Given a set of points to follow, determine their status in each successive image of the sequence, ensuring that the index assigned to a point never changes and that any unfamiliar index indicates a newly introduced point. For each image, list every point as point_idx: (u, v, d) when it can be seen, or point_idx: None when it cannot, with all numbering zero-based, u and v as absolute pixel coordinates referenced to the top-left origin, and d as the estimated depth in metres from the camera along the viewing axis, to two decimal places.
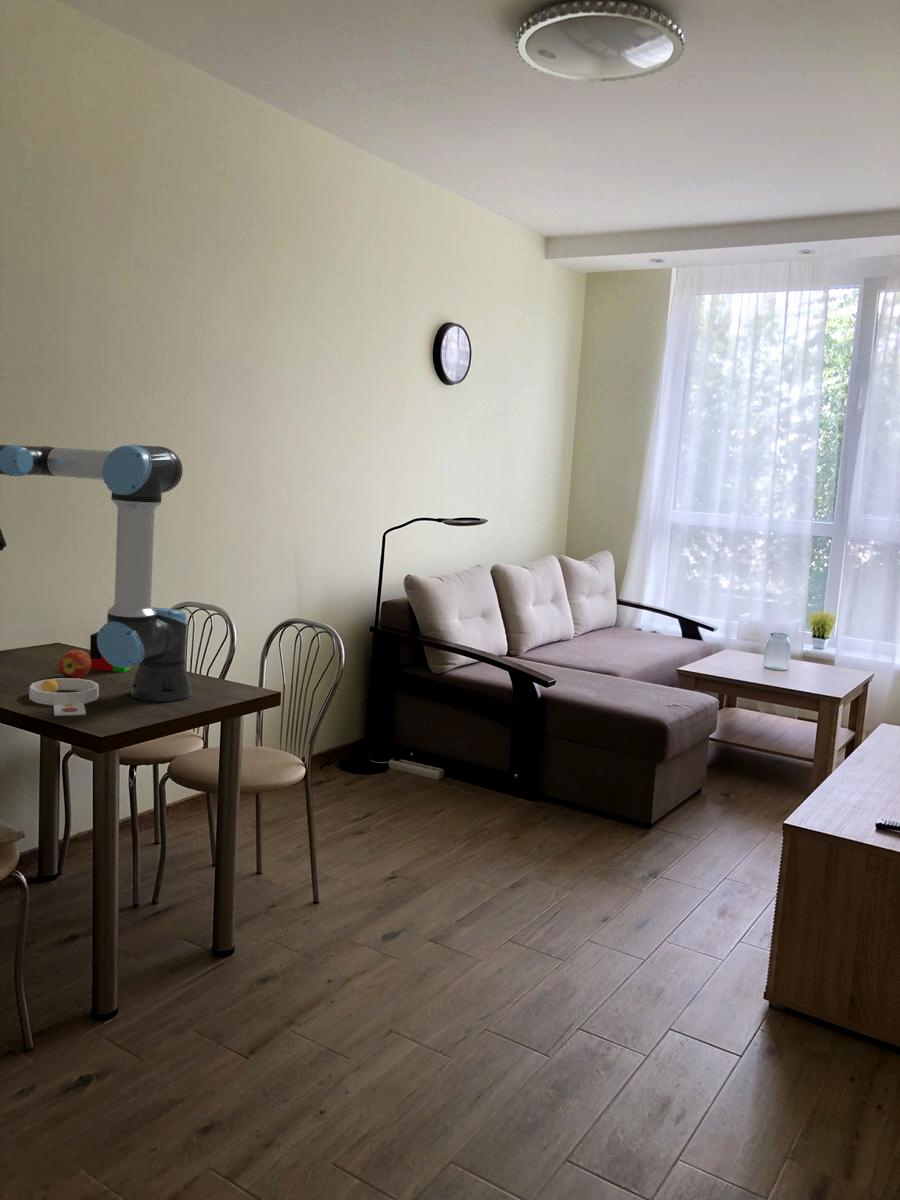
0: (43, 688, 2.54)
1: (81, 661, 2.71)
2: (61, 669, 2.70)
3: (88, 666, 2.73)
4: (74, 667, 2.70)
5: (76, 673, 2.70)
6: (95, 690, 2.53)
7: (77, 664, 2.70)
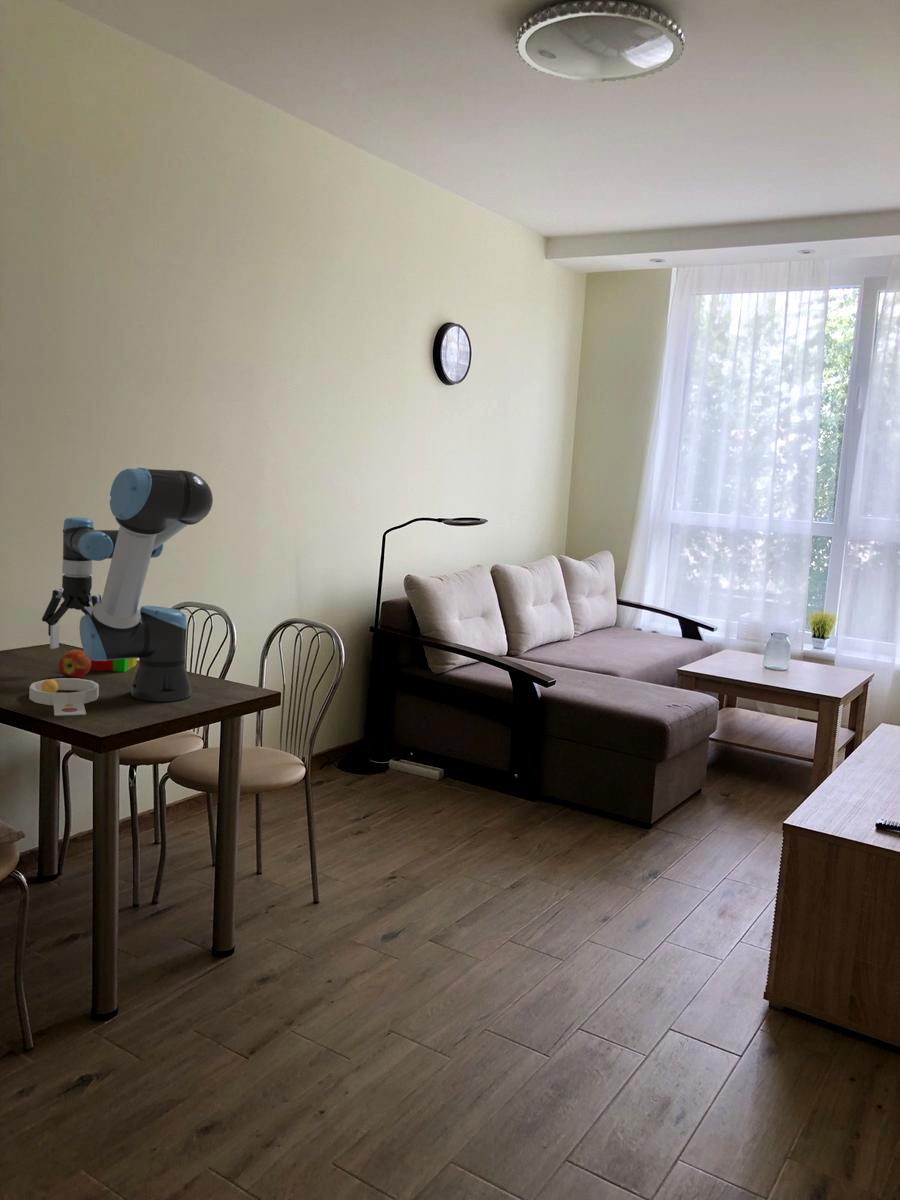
0: (43, 688, 2.54)
1: (81, 661, 2.71)
2: (61, 669, 2.70)
3: (88, 666, 2.73)
4: (74, 667, 2.70)
5: (76, 673, 2.70)
6: (95, 690, 2.53)
7: (77, 664, 2.70)
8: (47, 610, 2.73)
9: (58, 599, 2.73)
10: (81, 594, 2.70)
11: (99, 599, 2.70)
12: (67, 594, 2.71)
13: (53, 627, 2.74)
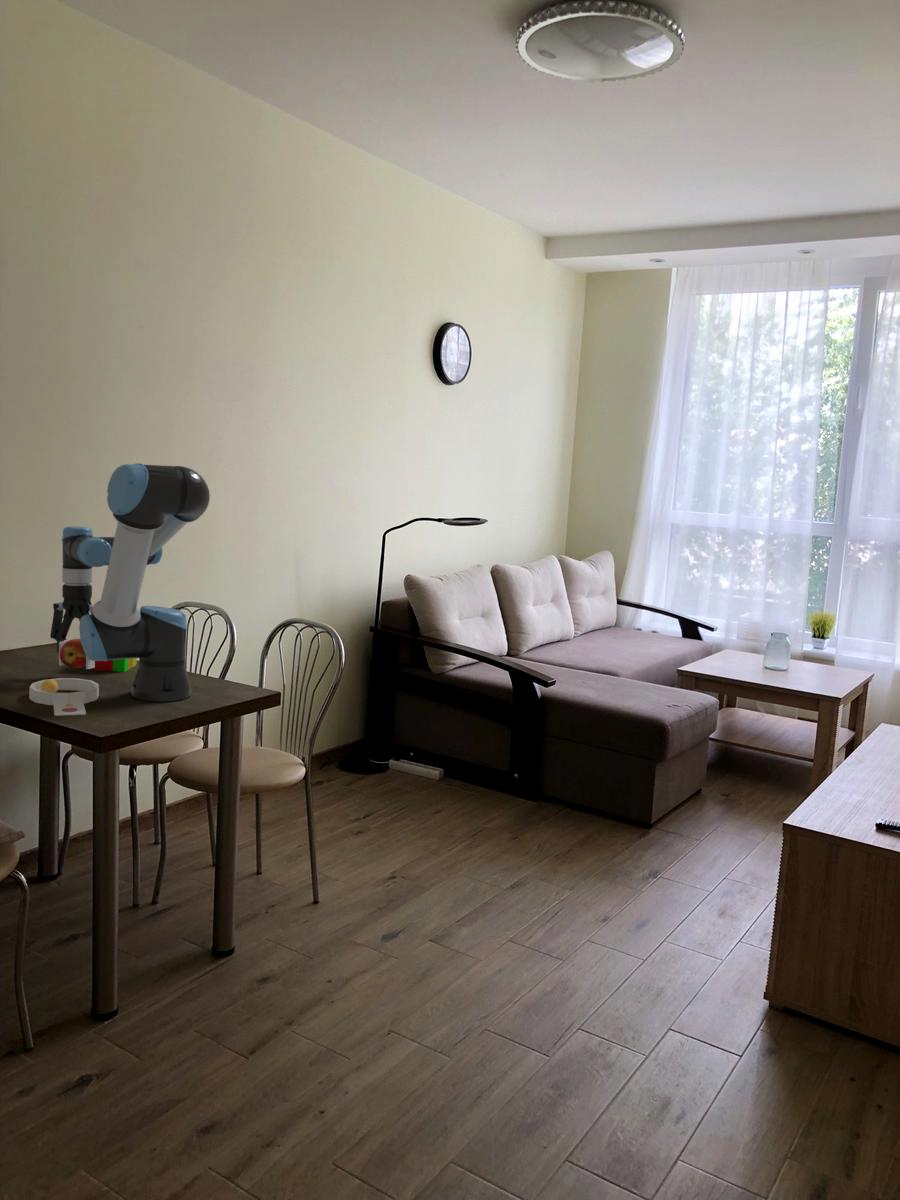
0: (43, 688, 2.54)
1: (82, 649, 2.70)
2: (62, 658, 2.69)
3: None
4: (75, 656, 2.69)
5: (77, 661, 2.69)
6: (95, 690, 2.53)
7: (78, 652, 2.69)
8: (53, 626, 2.73)
9: (60, 612, 2.73)
10: (82, 602, 2.69)
11: None
12: (67, 602, 2.71)
13: (61, 644, 2.73)
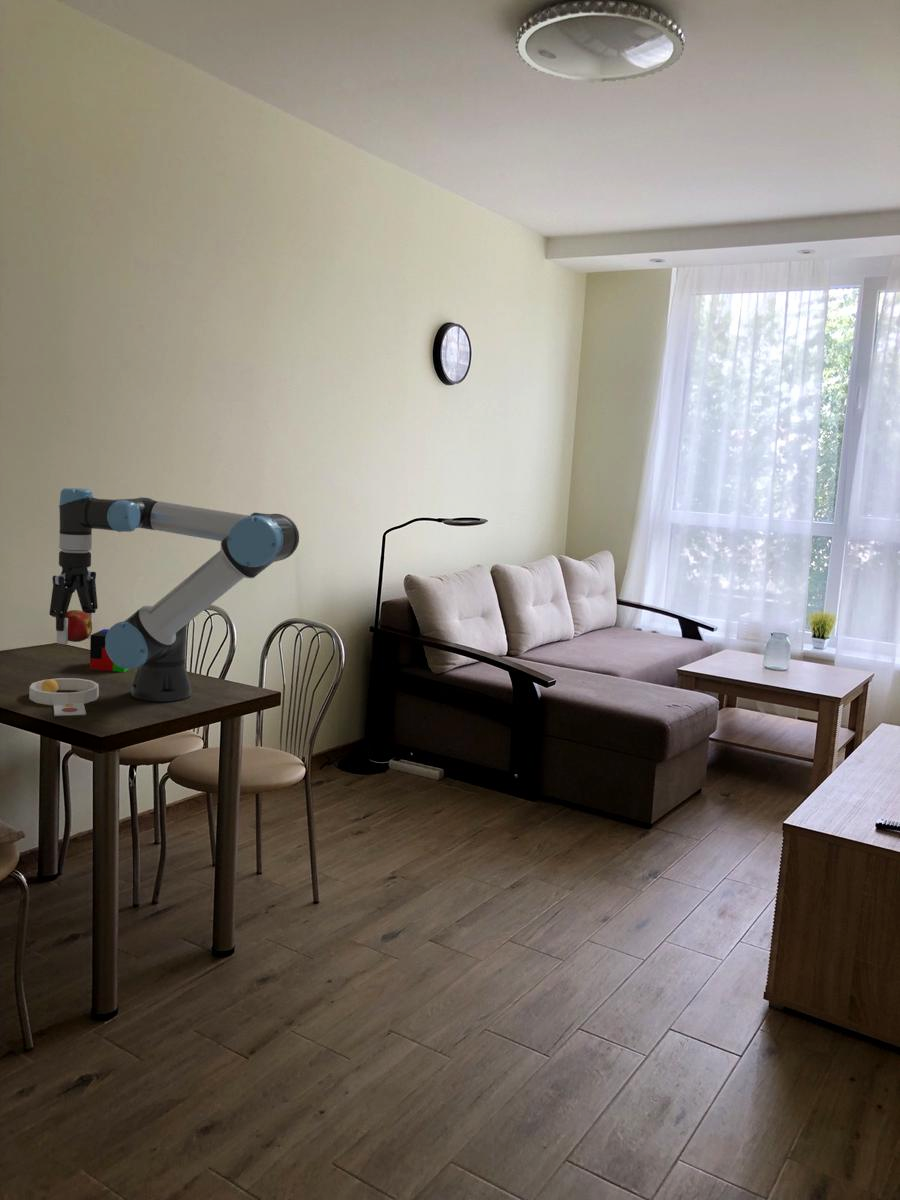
0: (43, 688, 2.54)
1: None
2: (85, 632, 2.49)
3: None
4: (91, 626, 2.52)
5: None
6: (95, 690, 2.53)
7: (91, 622, 2.53)
8: (60, 602, 2.43)
9: None
10: (85, 569, 2.51)
11: None
12: (72, 573, 2.47)
13: None
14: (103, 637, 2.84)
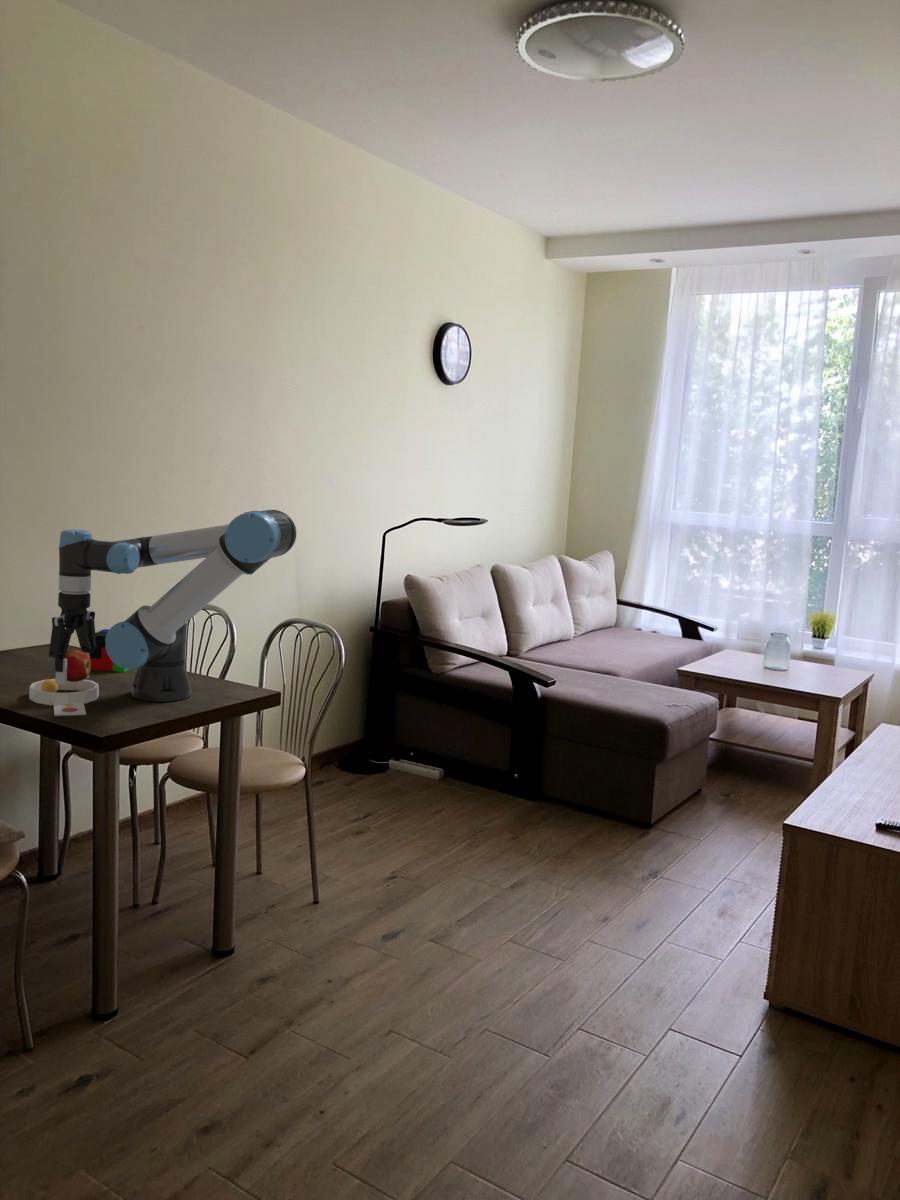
0: (43, 688, 2.54)
1: None
2: (84, 672, 2.50)
3: None
4: (90, 666, 2.54)
5: (89, 671, 2.54)
6: (95, 690, 2.53)
7: (90, 662, 2.54)
8: (59, 643, 2.45)
9: None
10: (84, 609, 2.53)
11: None
12: (71, 614, 2.48)
13: None
14: (103, 637, 2.84)
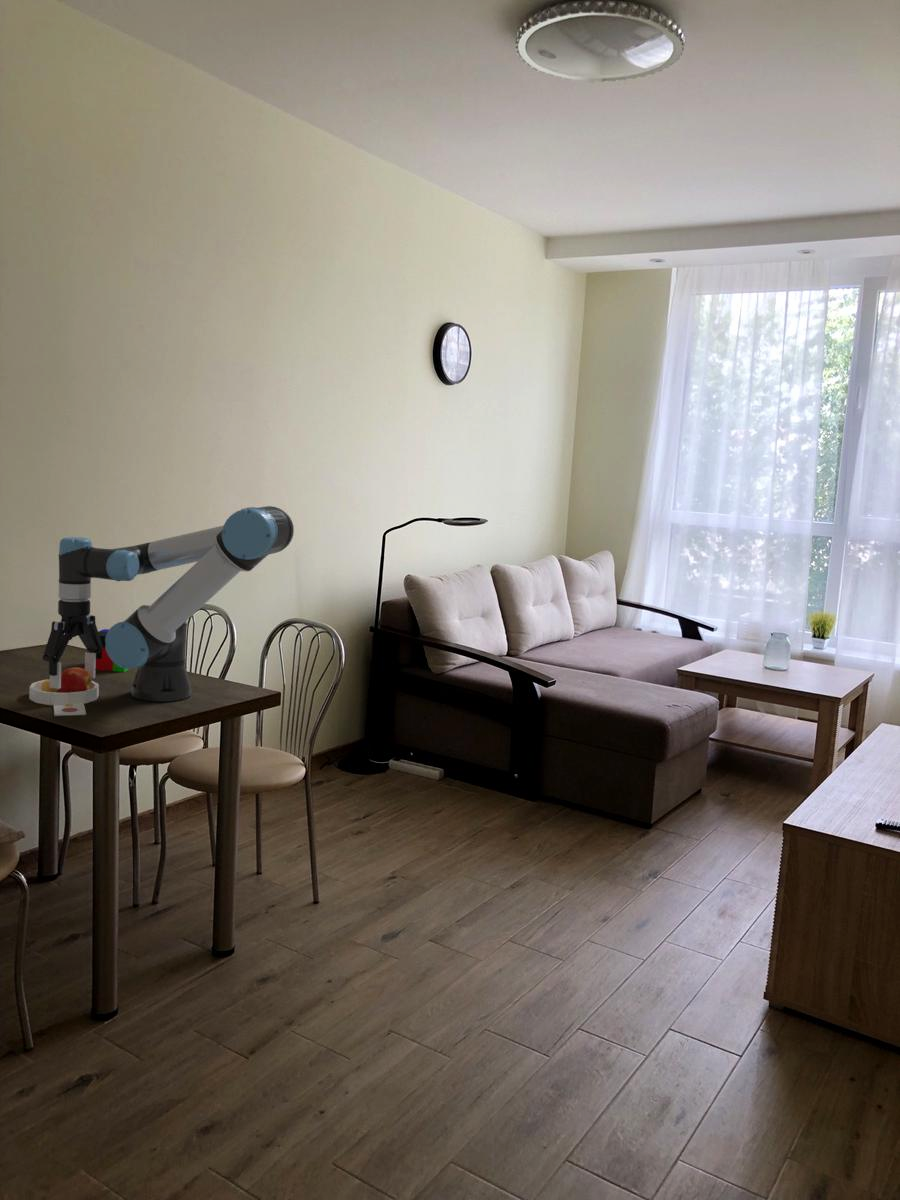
0: (43, 688, 2.54)
1: None
2: (85, 689, 2.51)
3: None
4: (90, 683, 2.55)
5: None
6: (95, 690, 2.53)
7: None
8: (55, 647, 2.43)
9: None
10: (83, 618, 2.53)
11: None
12: (72, 622, 2.49)
13: None
14: (103, 637, 2.84)
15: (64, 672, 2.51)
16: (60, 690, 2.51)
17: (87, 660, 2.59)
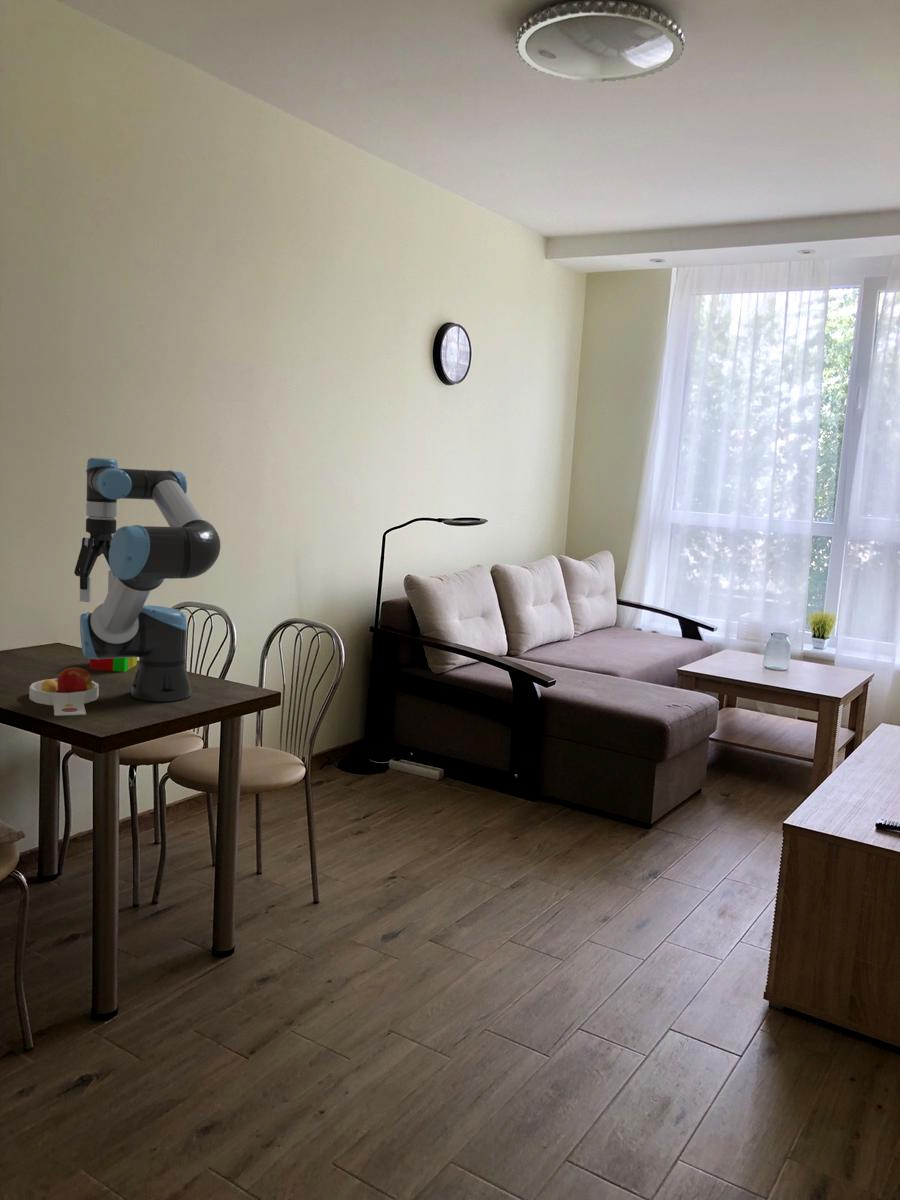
0: (43, 688, 2.54)
1: None
2: (85, 689, 2.51)
3: None
4: (90, 683, 2.55)
5: None
6: (95, 690, 2.53)
7: (91, 679, 2.55)
8: (86, 562, 2.54)
9: None
10: (109, 536, 2.63)
11: None
12: (100, 539, 2.59)
13: None
14: None
15: (64, 672, 2.51)
16: (60, 690, 2.51)
17: (111, 579, 2.70)
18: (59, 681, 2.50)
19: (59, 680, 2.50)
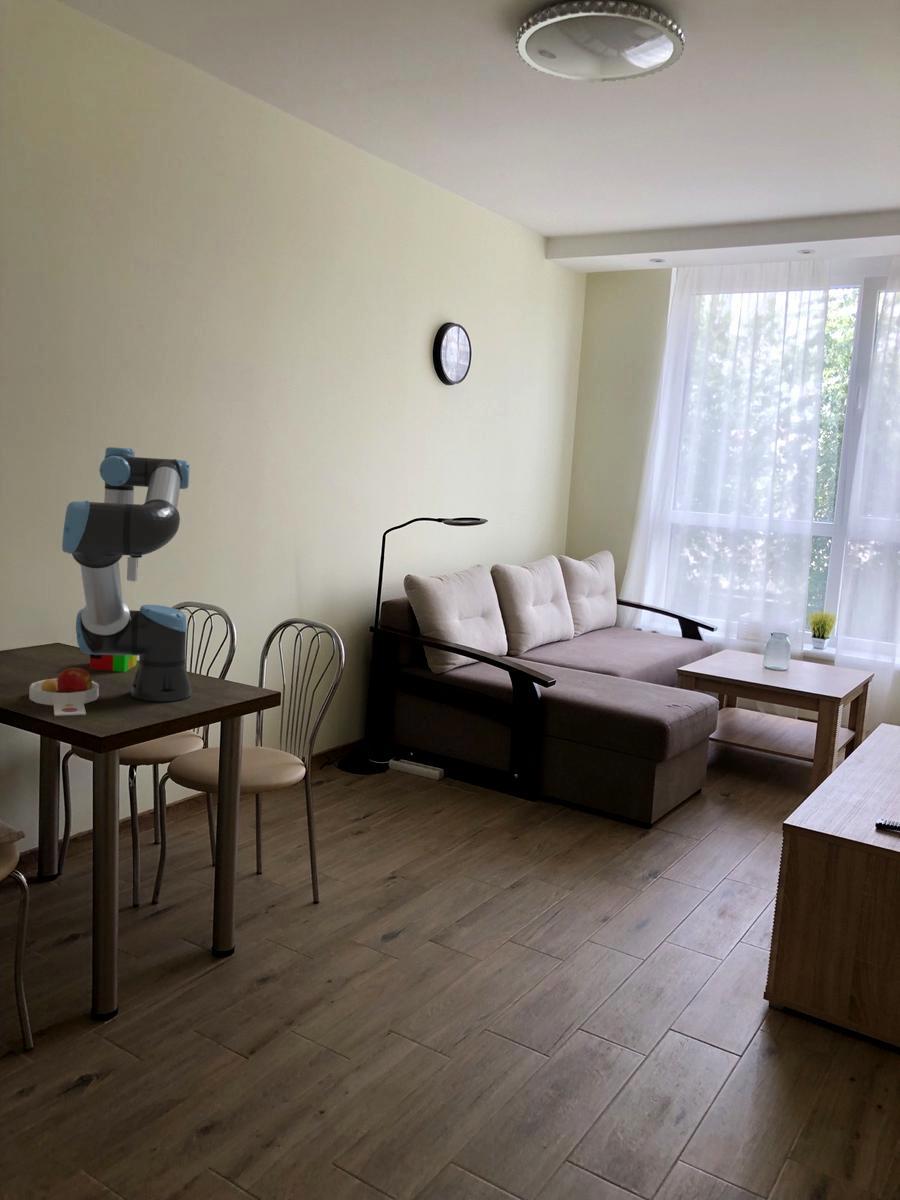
0: (43, 688, 2.54)
1: None
2: (85, 689, 2.51)
3: None
4: (90, 683, 2.55)
5: None
6: (95, 690, 2.53)
7: (91, 679, 2.55)
8: None
9: None
10: None
11: None
12: None
13: None
14: None
15: (64, 672, 2.51)
16: (60, 690, 2.51)
17: (130, 565, 2.78)
18: (59, 681, 2.50)
19: (59, 680, 2.50)
